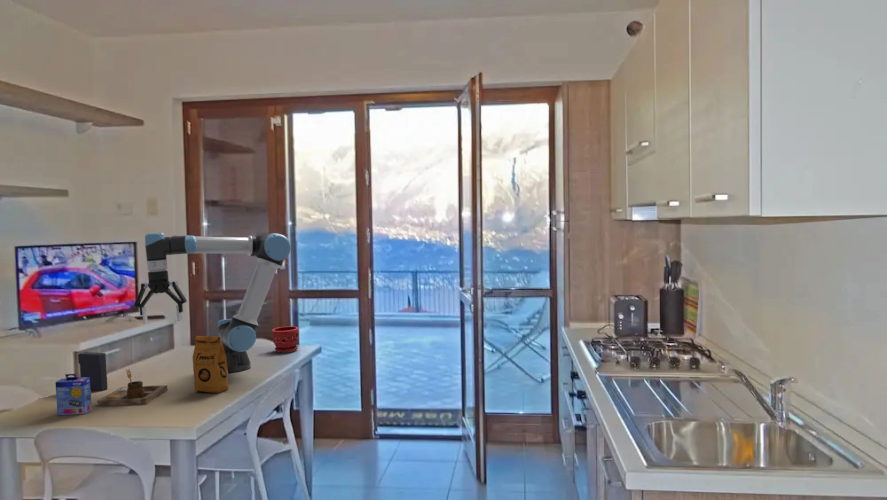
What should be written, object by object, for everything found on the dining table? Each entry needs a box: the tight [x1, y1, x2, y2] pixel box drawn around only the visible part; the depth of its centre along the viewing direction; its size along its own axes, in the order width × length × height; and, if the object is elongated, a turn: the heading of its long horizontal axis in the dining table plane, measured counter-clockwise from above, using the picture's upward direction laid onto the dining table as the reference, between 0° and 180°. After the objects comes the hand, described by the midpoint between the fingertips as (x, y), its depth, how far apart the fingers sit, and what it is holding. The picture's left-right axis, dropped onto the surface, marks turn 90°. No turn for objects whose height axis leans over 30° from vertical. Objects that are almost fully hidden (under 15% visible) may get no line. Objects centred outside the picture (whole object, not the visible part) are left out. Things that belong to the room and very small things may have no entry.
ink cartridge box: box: [54, 373, 93, 416], centre depth 233 cm, size 10×6×14 cm, turn 95°
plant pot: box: [271, 325, 300, 354], centre depth 335 cm, size 13×13×12 cm
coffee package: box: [192, 335, 229, 394], centre depth 258 cm, size 10×12×22 cm
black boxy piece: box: [77, 351, 109, 392], centre depth 267 cm, size 11×4×15 cm, turn 71°
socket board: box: [96, 384, 168, 407], centre depth 252 cm, size 18×20×2 cm
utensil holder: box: [125, 368, 144, 399], centre depth 247 cm, size 6×6×12 cm
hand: (162, 321), depth 269 cm, fingers open, 13 cm apart
